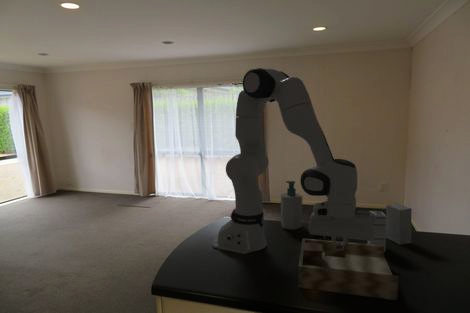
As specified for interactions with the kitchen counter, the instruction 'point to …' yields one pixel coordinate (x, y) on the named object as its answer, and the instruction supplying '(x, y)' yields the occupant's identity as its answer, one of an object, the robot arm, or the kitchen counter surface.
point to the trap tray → (349, 270)
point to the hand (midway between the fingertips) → (338, 249)
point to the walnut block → (312, 254)
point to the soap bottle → (291, 208)
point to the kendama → (320, 237)
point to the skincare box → (398, 223)
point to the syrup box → (379, 229)
